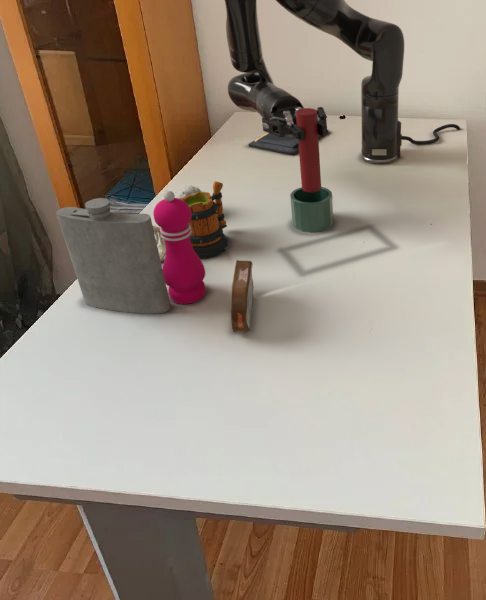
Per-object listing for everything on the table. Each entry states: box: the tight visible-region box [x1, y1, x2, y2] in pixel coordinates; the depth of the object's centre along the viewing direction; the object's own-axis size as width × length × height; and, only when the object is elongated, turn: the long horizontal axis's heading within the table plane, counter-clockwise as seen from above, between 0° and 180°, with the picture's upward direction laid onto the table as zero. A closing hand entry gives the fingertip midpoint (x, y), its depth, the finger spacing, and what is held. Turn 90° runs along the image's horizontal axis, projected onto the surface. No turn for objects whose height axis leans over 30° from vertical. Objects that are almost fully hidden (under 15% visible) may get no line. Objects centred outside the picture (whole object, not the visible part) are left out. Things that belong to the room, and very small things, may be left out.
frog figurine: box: [176, 185, 202, 199], centre depth 135 cm, size 6×7×7 cm
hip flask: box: [55, 197, 172, 314], centre depth 103 cm, size 16×4×20 cm, turn 79°
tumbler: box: [289, 186, 334, 233], centre depth 132 cm, size 9×9×7 cm
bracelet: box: [152, 224, 166, 262], centre depth 118 cm, size 4×8×8 cm, turn 150°
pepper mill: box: [153, 190, 207, 305], centre depth 106 cm, size 7×7×20 cm
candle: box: [296, 107, 322, 192], centre depth 124 cm, size 4×4×16 cm
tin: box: [230, 259, 254, 333], centre depth 104 cm, size 15×3×8 cm, turn 5°
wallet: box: [248, 129, 330, 156], centre depth 175 cm, size 20×2×15 cm
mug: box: [180, 180, 229, 260], centre depth 124 cm, size 13×10×12 cm
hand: (313, 133), depth 120 cm, fingers closed on candle, 4 cm apart
